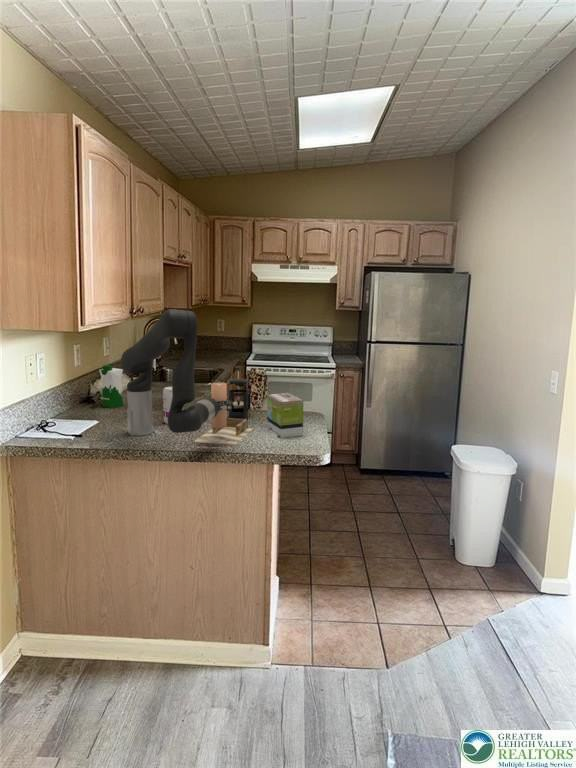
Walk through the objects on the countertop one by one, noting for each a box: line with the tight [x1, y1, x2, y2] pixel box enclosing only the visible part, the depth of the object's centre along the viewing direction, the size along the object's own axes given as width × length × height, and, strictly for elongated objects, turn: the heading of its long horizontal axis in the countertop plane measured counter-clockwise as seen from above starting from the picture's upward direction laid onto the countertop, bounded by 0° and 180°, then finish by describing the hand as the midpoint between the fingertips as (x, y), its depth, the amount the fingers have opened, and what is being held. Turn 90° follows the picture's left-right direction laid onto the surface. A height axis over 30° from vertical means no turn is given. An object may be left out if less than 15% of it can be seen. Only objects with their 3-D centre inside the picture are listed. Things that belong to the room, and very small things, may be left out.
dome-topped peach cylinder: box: [210, 382, 228, 428], centre depth 200 cm, size 8×6×16 cm
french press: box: [227, 365, 251, 419], centre depth 237 cm, size 12×9×23 cm
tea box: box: [266, 392, 304, 439], centre depth 214 cm, size 15×10×15 cm, turn 24°
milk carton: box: [99, 364, 124, 409], centre depth 257 cm, size 9×9×20 cm
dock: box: [193, 417, 255, 446], centre depth 207 cm, size 25×16×4 cm, turn 167°
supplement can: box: [162, 386, 184, 425], centre depth 228 cm, size 8×8×15 cm
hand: (221, 401), depth 201 cm, fingers closed on dome-topped peach cylinder, 5 cm apart
